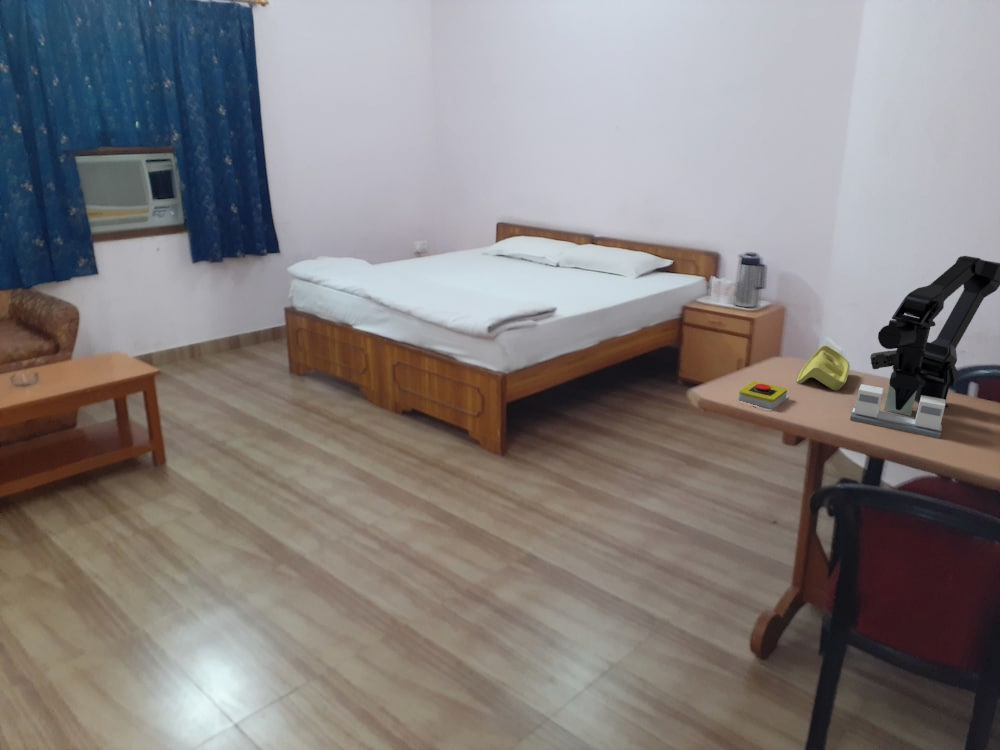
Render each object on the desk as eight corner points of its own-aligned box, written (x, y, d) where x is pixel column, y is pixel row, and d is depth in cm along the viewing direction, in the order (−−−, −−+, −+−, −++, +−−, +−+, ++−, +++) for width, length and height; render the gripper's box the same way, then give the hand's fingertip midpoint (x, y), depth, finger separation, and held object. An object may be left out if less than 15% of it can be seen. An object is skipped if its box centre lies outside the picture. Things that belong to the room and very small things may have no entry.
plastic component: (845, 385, 196) (811, 363, 198) (827, 405, 200) (795, 384, 202) (851, 361, 212) (820, 341, 214) (835, 380, 216) (805, 360, 218)
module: (911, 409, 186) (917, 383, 184) (910, 415, 182) (916, 389, 180) (885, 404, 189) (891, 379, 187) (883, 410, 185) (889, 384, 183)
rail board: (940, 427, 175) (947, 398, 173) (940, 438, 169) (947, 408, 166) (853, 410, 184) (859, 382, 182) (849, 419, 178) (855, 391, 175)
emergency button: (735, 388, 185) (756, 374, 196) (733, 404, 186) (754, 389, 198) (773, 397, 180) (792, 382, 191) (770, 413, 181) (789, 398, 192)
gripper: (879, 331, 191) (867, 387, 196) (873, 347, 176) (860, 408, 181) (928, 338, 186) (914, 396, 191) (925, 355, 171) (911, 418, 176)
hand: (899, 404), depth 185 cm, fingers open, 9 cm apart
